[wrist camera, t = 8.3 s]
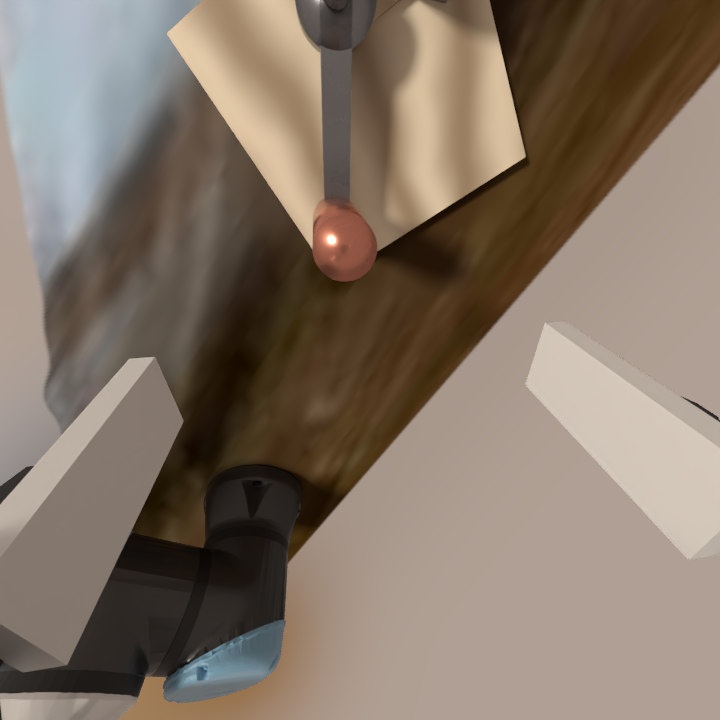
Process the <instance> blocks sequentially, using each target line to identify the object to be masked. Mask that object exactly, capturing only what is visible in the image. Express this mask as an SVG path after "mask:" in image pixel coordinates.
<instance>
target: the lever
mask: <svg viewBox="0 0 720 720" xmlns="http://www.w3.org/2000/svg"><path fill="white" fill-rule="evenodd" d="M295 4H296V12H297V17H298V20H299V24H300V27H301V29H302V31H303V33H304V35H305V37H306V39H307V40H308V42H309V43H310V44H311V45H312V46H313V47H314V48H315V49H316V50H317V51H318V52H320V67H321V106H322V146H323V185H324V198H323V199H322V200H321V201H320V202H319V203H318V204H317V206H316V207H315V210H314V213H313V256H314V260H315V262H316V264H317V266H318V267H319V269H320V270H321V271H322V272H323V273H324V274H325V275H326V276H328V277H330V278H332V279H334V280H337V281H352V280H355V279H358V278H360V277H362V276H363V275H364V274H366V273H367V272H368V271H369V270H370V268H371V267H372V265H373V264H374V261H375V259H376V255H377V240H376V237H375V234H374V232H373V230H372V229H371V227H370V226H369V225H368V223H367V222H366V221H365V219H364V218H363V217H362V215H361V214H360V212H359V211H358V210H357V208H356V207H355V206H354V204H353V203H352V202H351V201H350V146H351V76H352V53H353V52H354V51H356V50H357V49H358V48H359V46H360V45H361V44H362V42H363V41H364V39H365V37H366V35H367V33H368V31H369V29H370V27H371V24H372V21H373V19H374V15H375V11H376V4H377V0H295Z"/></svg>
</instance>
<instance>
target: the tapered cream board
mask: <svg viewBox="0 0 720 720" xmlns="http://www.w3.org/2000/svg"><path fill="white" fill-rule="evenodd" d="M167 35H168V36H169V38H170V39H171V41H172V42H173V44H174V45H175V47H176V48H177V50H178V51H179V53H180V54H181V56H182V57H183V58H184V60H185V61H186V63H187V64H188V66H189V67H190V69H191V70H192V72H193V73H194V75H195V76H196V78H197V79H198V81H199V82H200V84H201V85H202V87H203V88H204V90H205V91H206V92H207V94H208V95H209V97H210V98H211V100H212V101H213V103H214V104H215V106H216V107H217V109H218V110H219V112H220V113H221V115H222V116H223V118H224V119H225V121H226V122H227V124H228V125H229V126H230V128H231V129H232V131H233V132H234V134H235V135H236V137H237V138H238V140H239V141H240V143H241V144H242V146H243V147H244V149H245V150H246V152H247V153H248V155H249V156H250V157H251V159H252V160H253V162H254V163H255V165H256V166H257V168H258V169H259V171H260V172H261V174H262V175H263V177H264V178H265V180H266V181H267V183H268V184H269V186H270V187H271V189H272V190H273V191H274V193H275V194H276V196H277V197H278V199H279V200H280V202H281V203H282V205H283V206H284V208H285V209H286V211H287V212H288V214H289V215H290V217H291V218H292V220H293V221H294V223H295V224H296V225H297V227H298V228H299V230H300V231H301V233H302V234H303V236H304V237H305V239H306V240H307V242H308V243H309V245H310V246H311V248H312V249H313V213H314V210H315V207H316V206H317V204H318V203H319V202H320V201H321V200H322V199H323V198H324V185H323V146H322V106H321V67H320V52H318V51H317V50H316V49H315V48H314V47H313V46H312V45H311V44H310V43H309V42H308V40H307V39H306V37H305V35H304V33H303V31H302V29H301V27H300V24H299V20H298V17H297V12H296V4H295V0H202V1H201V2H200V3H199V4H198V5H197V6H196V7H195V8H194V9H193V10H191V11H190V12H189V13H188V14H187V15H186V16H185V17H184V18H183V19H182V20H181V21H180V22H179V23H177V24H176V25H175V26H174V27H173V28H172V29H171V30H170V31H169V32H168V33H167ZM525 157H526V155H525V151H524V146H523V142H522V138H521V134H520V129H519V125H518V121H517V116H516V112H515V108H514V103H513V99H512V95H511V91H510V86H509V82H508V78H507V73H506V69H505V65H504V61H503V56H502V52H501V48H500V43H499V39H498V35H497V30H496V26H495V22H494V18H493V13H492V9H491V5H490V0H377V4H376V11H375V15H374V19H373V21H372V24H371V27H370V29H369V31H368V33H367V35H366V37H365V39H364V41H363V42H362V44H361V45H360V46H359V48H358V49H357V50H356V51H354V52H353V53H352V76H351V146H350V201H351V202H352V203H353V204H354V206H355V207H356V208H357V210H358V211H359V212H360V214H361V215H362V217H363V218H364V219H365V221H366V222H367V223H368V225H369V226H370V227H371V229H372V230H373V232H374V234H375V237H376V240H377V251H379V250H381V249H382V248H384V247H385V246H387V245H388V244H390V243H392V242H393V241H395V240H396V239H398V238H399V237H401V236H403V235H404V234H406V233H407V232H409V231H410V230H412V229H414V228H415V227H417V226H418V225H420V224H421V223H423V222H425V221H426V220H428V219H429V218H431V217H432V216H434V215H435V214H437V213H439V212H440V211H442V210H443V209H445V208H446V207H448V206H450V205H451V204H453V203H454V202H456V201H457V200H459V199H461V198H462V197H464V196H465V195H467V194H468V193H470V192H472V191H473V190H475V189H476V188H478V187H479V186H481V185H483V184H484V183H486V182H487V181H489V180H490V179H492V178H494V177H495V176H497V175H498V174H500V173H501V172H503V171H505V170H506V169H508V168H509V167H511V166H512V165H514V164H515V163H517V162H519V161H520V160H522V159H523V158H525ZM333 280H334V279H333Z"/></svg>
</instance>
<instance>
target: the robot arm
mask: <svg viewBox="0 0 720 720" xmlns="http://www.w3.org/2000/svg"><path fill="white" fill-rule="evenodd" d="M526 386H527V387H528V388H529V389H530V390H531V392H532V393H533V394H534V395H535V396H536V397H537V398H538V399H539V400H540V401H541V402H542V403H543V404H544V405H545V407H546V408H547V409H548V410H549V411H550V412H551V413H552V414H553V415H554V416H555V417H556V418H557V419H558V420H559V422H560V423H561V424H562V425H563V426H564V427H565V428H566V429H567V430H568V431H569V432H570V433H571V434H572V436H573V437H574V438H575V439H576V440H577V441H578V442H579V443H580V444H581V445H582V446H583V447H584V448H585V449H586V450H587V452H588V453H589V454H590V455H591V456H592V457H593V458H594V459H595V460H596V461H597V462H598V463H599V464H600V466H601V467H602V468H603V469H604V470H605V471H606V472H607V473H608V474H609V475H610V476H611V477H612V478H613V479H614V481H615V482H616V483H617V484H618V485H619V486H620V487H621V488H622V489H623V490H624V491H625V492H626V493H627V495H629V497H630V498H631V499H632V500H633V501H634V502H635V503H636V504H637V505H638V506H639V507H640V508H641V510H642V511H643V512H644V513H645V514H646V515H647V516H648V517H649V518H650V519H651V520H652V521H653V522H654V523H655V525H656V526H657V527H658V528H659V529H660V530H661V531H662V532H663V533H664V534H665V535H666V536H667V537H668V538H669V540H670V541H671V542H672V543H673V544H674V545H675V546H676V547H677V548H678V549H679V550H680V551H681V552H682V554H684V556H685V557H686V558H687V559H688V560H693V559H699V558H705V557H711V556H717V555H719V554H720V420H719V419H718V417H717V416H716V415H714V414H713V413H711V412H709V411H708V410H706V409H705V408H703V407H702V406H700V405H699V404H697V403H695V402H692V401H690V400H688V399H686V398H684V397H681V396H679V395H677V394H676V393H675V392H673V391H672V390H670V389H668V388H667V387H665V386H664V385H662V384H661V383H659V382H658V381H656V380H655V379H653V378H652V377H650V376H649V375H647V374H645V373H644V372H642V371H641V370H639V369H638V368H636V367H635V366H633V365H632V364H630V363H628V362H627V361H626V360H624V359H623V358H621V357H620V356H618V355H616V354H615V353H613V352H612V351H610V350H609V349H607V348H606V347H604V346H603V345H601V344H600V343H598V342H597V341H595V340H594V339H592V338H590V337H589V336H587V335H586V334H584V333H583V332H581V331H580V330H578V329H577V328H575V327H574V326H572V325H571V324H569V323H567V322H566V321H560V322H549V323H545V324H544V328H543V331H542V334H541V337H540V340H539V343H538V346H537V350H536V353H535V356H534V359H533V362H532V365H531V369H530V372H529V375H528V378H527V381H526ZM182 423H183V419H182V416H181V414H180V412H179V410H178V407H177V405H176V403H175V401H174V398H173V396H172V394H171V392H170V389H169V387H168V385H167V383H166V380H165V378H164V376H163V374H162V371H161V369H160V367H159V365H158V362H157V360H156V358H155V357H147V358H136V359H129V360H128V361H127V362H126V363H125V364H124V366H123V367H122V368H121V369H120V370H119V371H118V372H117V373H116V375H115V376H114V377H113V378H112V379H111V380H110V381H109V382H108V384H107V385H106V386H105V387H104V388H103V389H102V390H101V392H100V393H99V394H98V395H97V396H96V397H95V398H94V399H93V401H92V402H91V403H90V404H89V405H88V406H87V407H86V408H85V410H84V411H83V412H82V413H81V414H80V415H79V416H78V417H77V419H76V420H75V421H74V422H73V423H72V424H71V425H70V426H69V428H68V429H67V430H66V431H65V432H64V433H63V434H62V435H61V437H60V438H59V439H58V440H57V441H56V442H55V444H54V445H53V446H52V447H51V448H50V449H49V450H48V451H47V452H46V454H45V455H44V456H43V457H42V458H41V459H40V460H39V461H38V463H37V464H36V465H35V466H30V467H26V468H25V469H23V470H22V471H21V472H19V473H18V474H16V475H15V476H14V477H13V478H11V479H10V480H8V481H7V482H6V483H4V484H3V485H2V486H0V720H118V719H119V718H120V717H121V716H122V715H124V713H126V712H127V711H128V710H129V709H130V708H131V707H132V706H133V705H134V704H135V703H136V702H137V698H138V696H139V693H140V690H141V687H142V685H143V682H144V679H145V677H147V676H154V677H165V678H166V680H165V682H164V685H163V689H164V698H165V700H167V701H169V702H172V701H174V702H177V703H187V702H196V701H202V700H207V699H212V698H216V697H220V696H224V695H228V694H231V693H234V692H237V691H240V690H243V689H246V688H248V687H250V686H253V685H255V684H257V683H259V682H261V681H262V680H264V679H265V678H267V677H268V676H269V675H270V674H271V673H272V672H273V671H274V669H275V668H276V666H277V664H278V662H279V659H280V655H281V647H282V640H283V632H284V627H285V620H284V617H285V600H286V582H287V564H288V547H289V540H290V537H291V535H292V532H293V529H294V526H295V522H296V519H297V517H298V516H299V514H300V511H301V507H302V488H301V485H300V484H299V482H298V481H297V480H296V479H295V478H294V477H293V476H292V475H290V474H289V473H287V472H285V471H283V470H280V469H277V468H274V467H269V466H262V465H248V466H240V467H236V468H232V469H229V470H227V471H225V472H223V473H221V474H219V475H218V476H217V477H215V478H214V479H213V480H212V482H211V483H210V485H209V487H208V489H207V493H206V496H205V499H204V513H205V536H206V539H205V544H204V548H199V547H195V546H191V545H186V544H181V543H176V542H172V541H167V540H162V539H157V538H152V537H148V536H143V535H139V534H135V533H134V532H133V531H131V530H132V528H133V526H134V524H135V522H136V520H137V518H138V516H139V513H140V511H141V509H142V507H143V505H144V503H145V501H146V499H147V497H148V495H149V492H150V490H151V488H152V486H153V484H154V482H155V480H156V478H157V476H158V474H159V472H160V469H161V467H162V465H163V463H164V461H165V459H166V457H167V455H168V453H169V451H170V448H171V446H172V444H173V442H174V440H175V438H176V436H177V434H178V432H179V430H180V428H181V425H182Z"/></svg>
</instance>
